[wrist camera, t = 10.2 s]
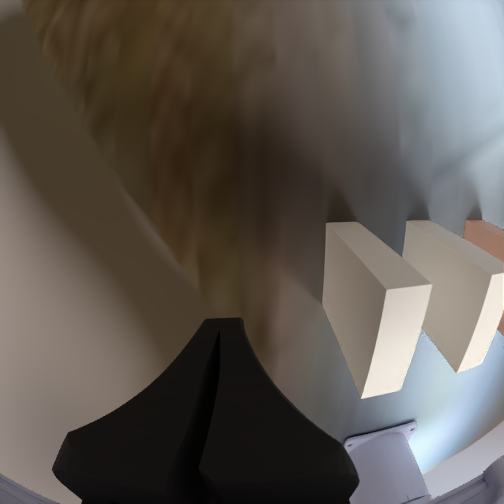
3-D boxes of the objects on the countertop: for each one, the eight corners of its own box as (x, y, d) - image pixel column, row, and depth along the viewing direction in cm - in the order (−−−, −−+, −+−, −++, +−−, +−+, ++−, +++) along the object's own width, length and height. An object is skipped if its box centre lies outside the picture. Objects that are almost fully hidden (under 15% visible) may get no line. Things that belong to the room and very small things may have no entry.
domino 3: (482, 220, 15) (560, 261, 8) (468, 285, 17) (531, 341, 10) (465, 219, 15) (547, 264, 8) (452, 288, 17) (516, 349, 10)
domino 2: (430, 220, 15) (515, 270, 8) (418, 293, 17) (481, 364, 10) (406, 220, 15) (492, 275, 8) (395, 296, 17) (456, 373, 10)
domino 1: (357, 221, 15) (432, 284, 8) (350, 301, 17) (400, 390, 10) (326, 222, 15) (386, 289, 8) (322, 304, 17) (360, 398, 10)
